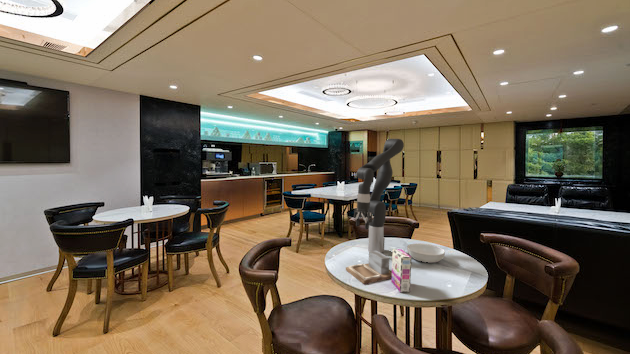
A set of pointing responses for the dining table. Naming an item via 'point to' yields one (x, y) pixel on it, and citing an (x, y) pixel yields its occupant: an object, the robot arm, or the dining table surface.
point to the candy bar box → (401, 270)
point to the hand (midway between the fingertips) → (362, 227)
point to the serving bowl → (425, 252)
